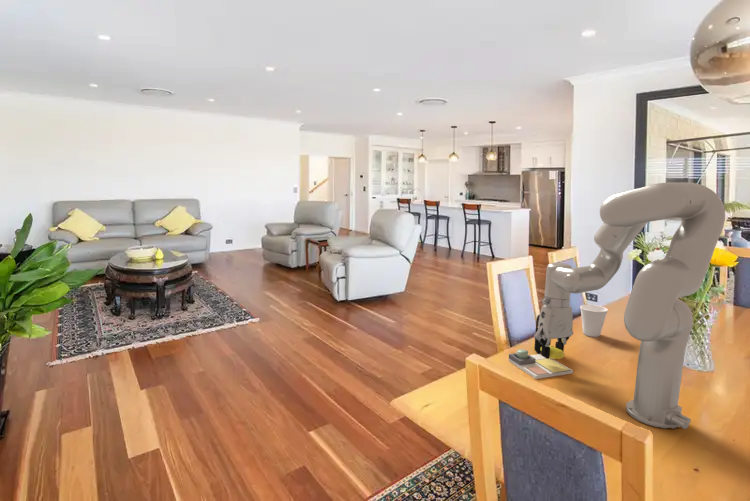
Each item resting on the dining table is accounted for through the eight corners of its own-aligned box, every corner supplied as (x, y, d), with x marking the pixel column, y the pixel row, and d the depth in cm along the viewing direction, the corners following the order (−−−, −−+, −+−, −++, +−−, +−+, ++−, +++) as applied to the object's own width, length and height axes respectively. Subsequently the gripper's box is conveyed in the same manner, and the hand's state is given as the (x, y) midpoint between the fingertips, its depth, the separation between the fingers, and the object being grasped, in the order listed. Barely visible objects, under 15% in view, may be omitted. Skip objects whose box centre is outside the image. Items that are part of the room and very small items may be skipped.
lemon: (544, 351, 144) (545, 340, 143) (566, 360, 137) (567, 348, 136) (537, 354, 141) (537, 343, 141) (558, 363, 135) (559, 351, 134)
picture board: (572, 373, 136) (573, 365, 136) (535, 379, 132) (536, 371, 132) (543, 356, 149) (543, 349, 149) (508, 360, 145) (508, 353, 145)
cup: (611, 337, 168) (614, 310, 166) (592, 340, 165) (595, 312, 163) (590, 329, 177) (592, 303, 176) (572, 332, 174) (574, 305, 172)
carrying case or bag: (539, 357, 148) (542, 316, 146) (531, 355, 150) (533, 314, 148) (551, 348, 156) (554, 309, 154) (543, 346, 158) (546, 308, 156)
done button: (530, 358, 142) (530, 352, 141) (520, 359, 141) (521, 353, 140) (523, 354, 145) (523, 348, 145) (514, 355, 144) (514, 349, 144)
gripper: (542, 307, 130) (537, 364, 133) (587, 303, 135) (581, 357, 138) (526, 300, 137) (522, 354, 140) (569, 296, 142) (565, 348, 145)
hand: (552, 355), depth 139 cm, fingers closed on lemon, 4 cm apart
